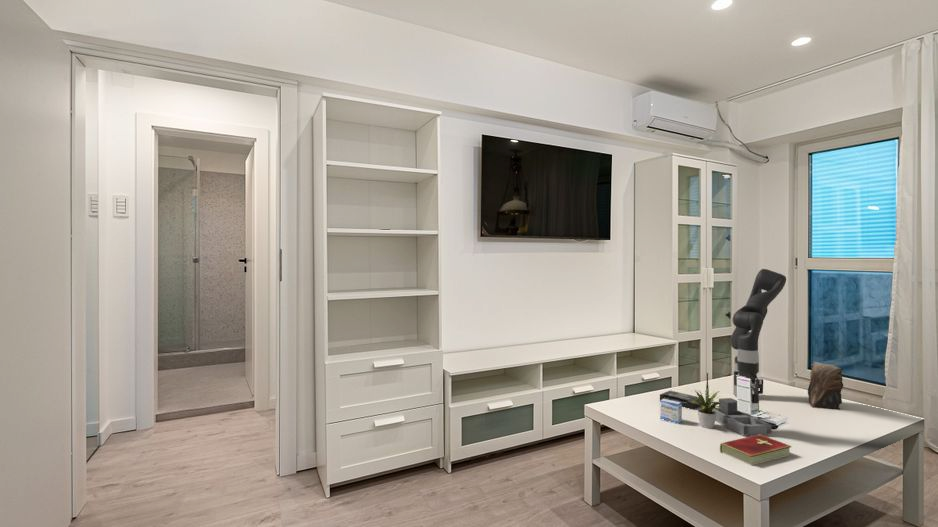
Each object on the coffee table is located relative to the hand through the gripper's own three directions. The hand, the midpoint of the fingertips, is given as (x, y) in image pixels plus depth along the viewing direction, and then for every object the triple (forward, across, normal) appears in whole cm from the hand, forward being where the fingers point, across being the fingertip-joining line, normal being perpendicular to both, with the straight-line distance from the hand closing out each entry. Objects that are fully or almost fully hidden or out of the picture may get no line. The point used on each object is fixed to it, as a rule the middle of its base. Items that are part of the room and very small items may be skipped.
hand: (748, 400), depth 184 cm
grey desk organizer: (+13, -8, 0) cm, 15 cm away
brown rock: (+13, -24, +57) cm, 63 cm away
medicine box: (+13, -15, -25) cm, 32 cm away
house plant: (+13, -7, -15) cm, 21 cm away
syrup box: (+5, 0, 0) cm, 5 cm away
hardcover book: (+13, +20, -13) cm, 28 cm away
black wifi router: (+13, -35, -6) cm, 38 cm away
